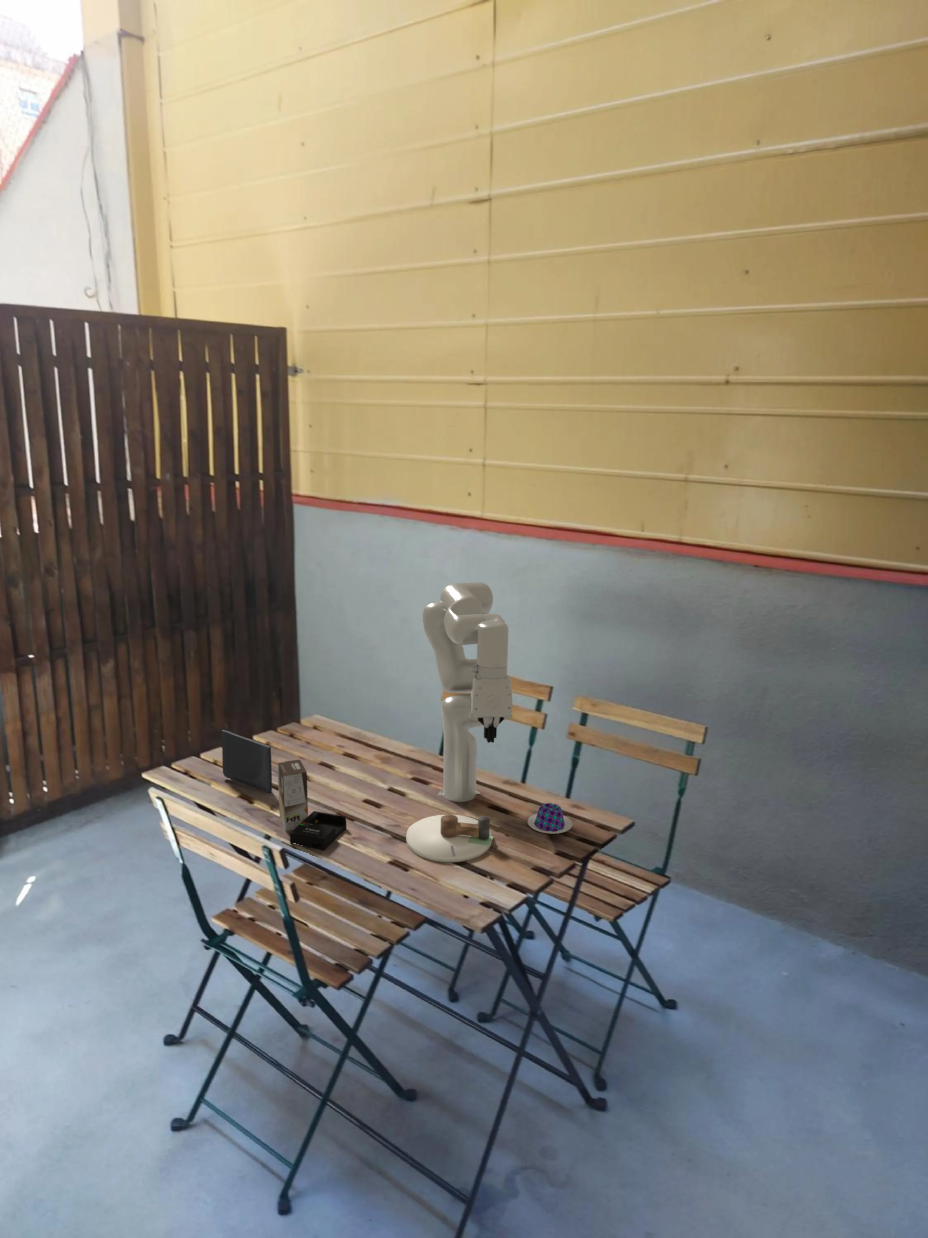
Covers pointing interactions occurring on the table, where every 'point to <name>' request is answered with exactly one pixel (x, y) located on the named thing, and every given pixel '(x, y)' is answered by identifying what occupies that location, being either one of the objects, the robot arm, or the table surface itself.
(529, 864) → the table surface
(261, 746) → the dark grey flat panel
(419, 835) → the dial plate
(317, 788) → the table surface
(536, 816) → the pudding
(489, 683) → the robot arm
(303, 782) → the coffee box
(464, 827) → the peg lever
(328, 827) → the battery charger
